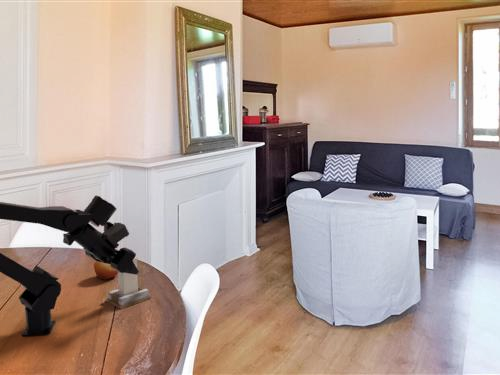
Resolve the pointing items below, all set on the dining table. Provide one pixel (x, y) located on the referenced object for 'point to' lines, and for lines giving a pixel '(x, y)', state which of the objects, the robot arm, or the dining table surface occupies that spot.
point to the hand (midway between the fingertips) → (128, 268)
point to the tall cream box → (128, 282)
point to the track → (128, 297)
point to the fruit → (104, 270)
